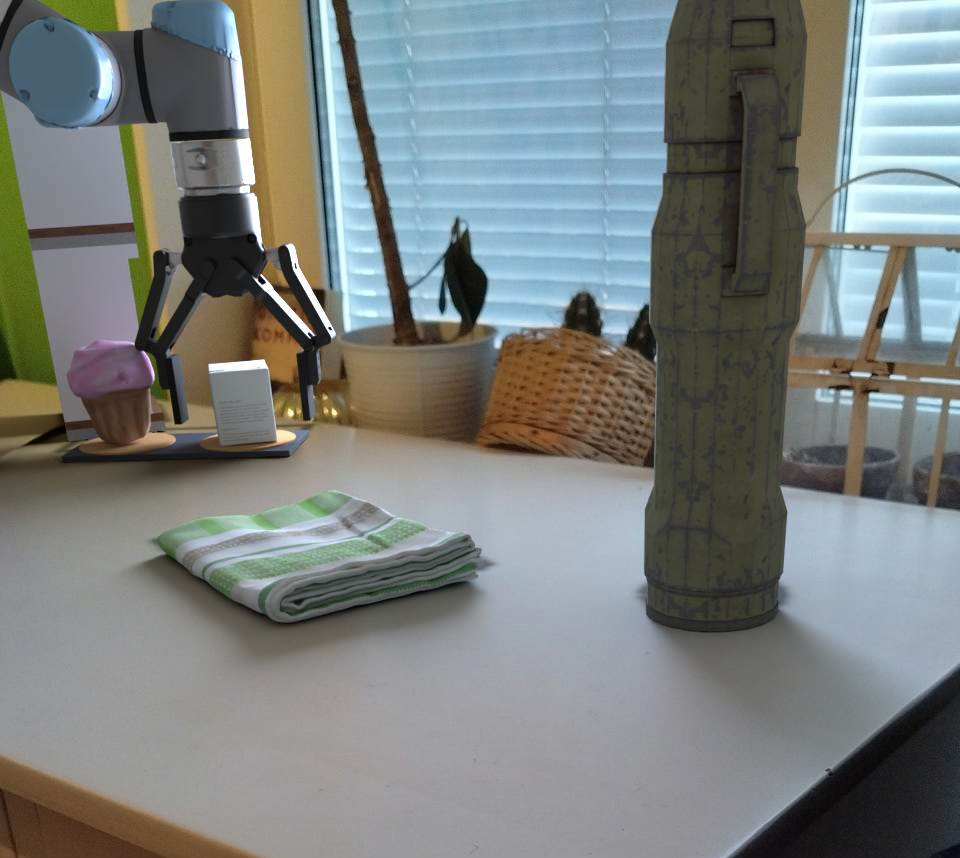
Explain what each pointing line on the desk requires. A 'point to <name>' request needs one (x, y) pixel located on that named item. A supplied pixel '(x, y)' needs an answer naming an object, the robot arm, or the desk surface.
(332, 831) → the desk surface
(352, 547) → the dish towel
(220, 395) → the product carton
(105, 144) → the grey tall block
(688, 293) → the thermos
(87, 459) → the placemat
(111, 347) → the cupcake
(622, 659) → the desk surface
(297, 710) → the desk surface
